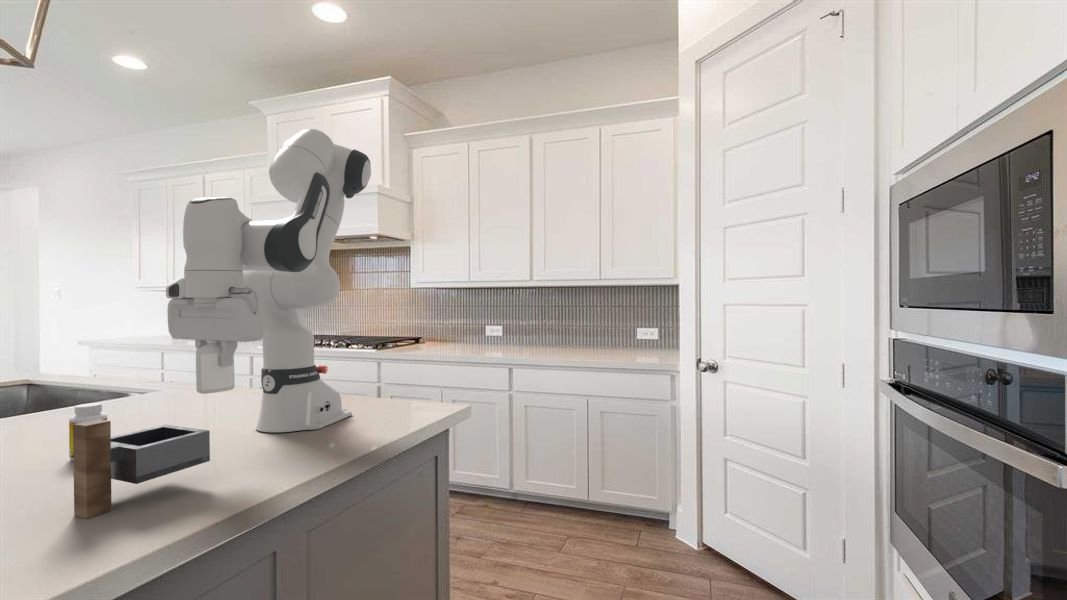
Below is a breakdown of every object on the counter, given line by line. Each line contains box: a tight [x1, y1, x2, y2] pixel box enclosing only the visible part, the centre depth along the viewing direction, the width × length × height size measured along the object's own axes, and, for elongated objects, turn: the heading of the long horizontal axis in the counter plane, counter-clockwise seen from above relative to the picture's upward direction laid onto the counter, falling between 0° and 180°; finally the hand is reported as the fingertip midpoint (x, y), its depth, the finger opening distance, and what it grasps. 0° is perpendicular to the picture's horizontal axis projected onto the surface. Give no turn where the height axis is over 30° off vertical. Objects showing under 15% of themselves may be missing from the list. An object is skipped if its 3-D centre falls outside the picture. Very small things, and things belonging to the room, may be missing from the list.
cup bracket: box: [73, 419, 211, 520], centre depth 78 cm, size 15×11×13 cm
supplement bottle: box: [68, 402, 108, 462], centre depth 98 cm, size 6×6×10 cm
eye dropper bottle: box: [195, 340, 236, 395], centre depth 89 cm, size 4×6×12 cm
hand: (216, 365), depth 90 cm, fingers closed on eye dropper bottle, 3 cm apart
